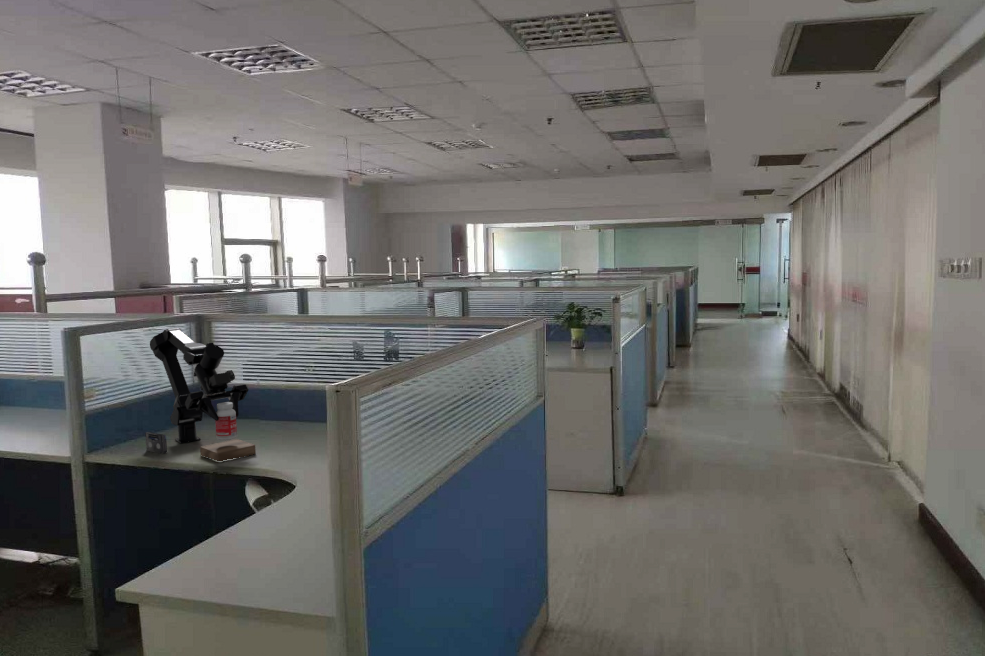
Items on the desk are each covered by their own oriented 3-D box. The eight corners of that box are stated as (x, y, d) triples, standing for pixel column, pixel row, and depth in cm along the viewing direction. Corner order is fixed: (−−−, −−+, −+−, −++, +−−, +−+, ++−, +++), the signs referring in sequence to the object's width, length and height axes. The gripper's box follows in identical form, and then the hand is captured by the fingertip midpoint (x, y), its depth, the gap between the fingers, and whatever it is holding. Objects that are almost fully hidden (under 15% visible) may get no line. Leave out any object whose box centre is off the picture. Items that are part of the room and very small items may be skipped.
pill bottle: (234, 440, 224) (232, 405, 222) (213, 441, 223) (211, 406, 222) (239, 435, 230) (237, 400, 228) (219, 435, 229) (217, 401, 228)
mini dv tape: (167, 452, 232) (165, 434, 231) (163, 454, 230) (161, 435, 230) (150, 449, 236) (149, 431, 235) (146, 450, 234) (145, 432, 234)
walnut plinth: (200, 456, 227) (200, 446, 226) (236, 447, 235) (236, 438, 235) (219, 463, 219) (218, 453, 218) (255, 454, 227) (255, 445, 227)
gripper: (186, 366, 220) (206, 408, 213) (244, 359, 233) (263, 397, 227) (177, 389, 226) (195, 429, 220) (233, 380, 239) (252, 418, 233)
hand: (227, 418), depth 225 cm, fingers closed on pill bottle, 6 cm apart
